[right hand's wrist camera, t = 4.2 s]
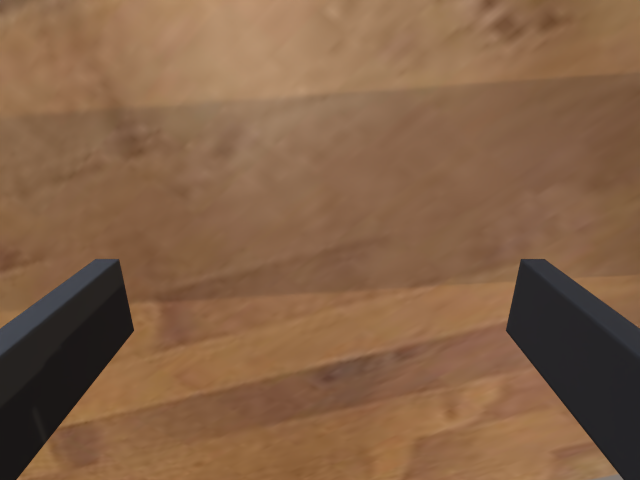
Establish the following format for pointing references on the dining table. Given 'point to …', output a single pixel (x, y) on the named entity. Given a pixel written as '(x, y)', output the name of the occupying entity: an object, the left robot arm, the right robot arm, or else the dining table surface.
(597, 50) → the dining table surface
